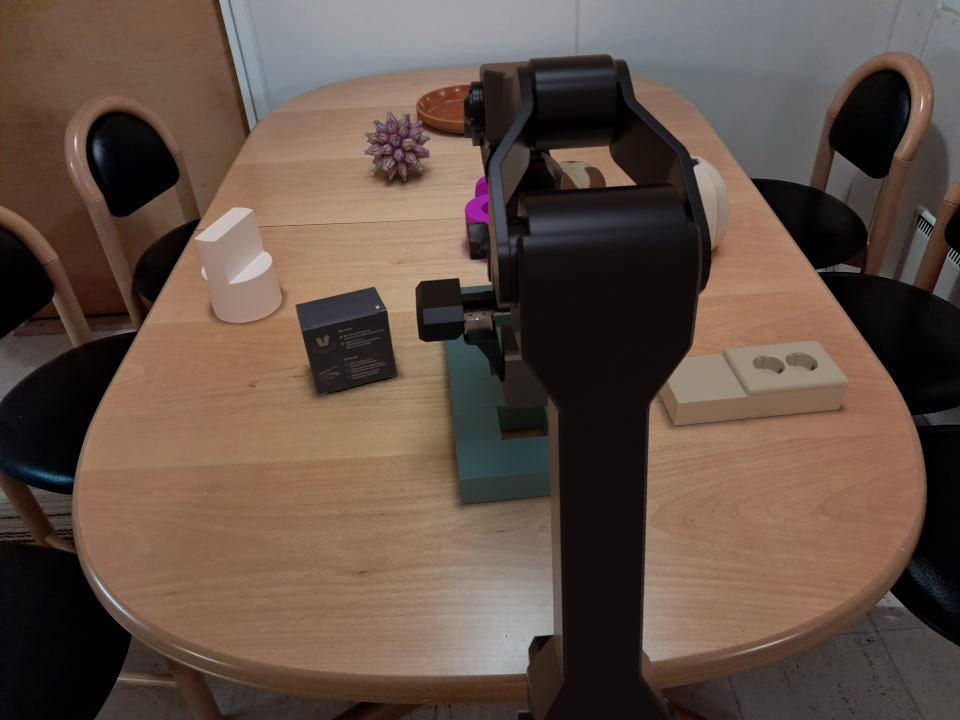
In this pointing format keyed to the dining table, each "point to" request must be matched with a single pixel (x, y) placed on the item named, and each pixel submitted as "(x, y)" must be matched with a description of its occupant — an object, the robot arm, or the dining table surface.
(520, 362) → the block
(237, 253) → the base with upright slab
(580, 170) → the bread
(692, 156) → the vase
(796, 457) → the dining table surface
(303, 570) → the dining table surface
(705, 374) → the electrical outlet
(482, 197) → the magenta slotted-back ring holder
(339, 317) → the box
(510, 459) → the teal three-hole plate
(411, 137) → the flower
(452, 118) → the saucer
